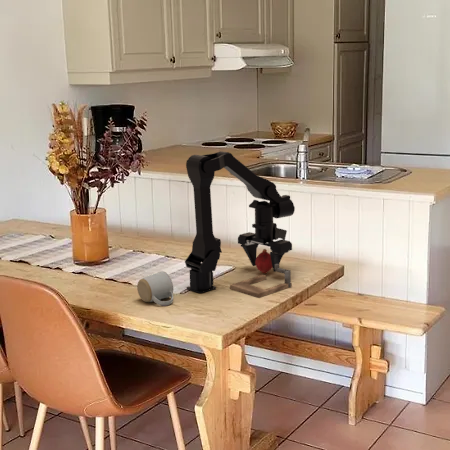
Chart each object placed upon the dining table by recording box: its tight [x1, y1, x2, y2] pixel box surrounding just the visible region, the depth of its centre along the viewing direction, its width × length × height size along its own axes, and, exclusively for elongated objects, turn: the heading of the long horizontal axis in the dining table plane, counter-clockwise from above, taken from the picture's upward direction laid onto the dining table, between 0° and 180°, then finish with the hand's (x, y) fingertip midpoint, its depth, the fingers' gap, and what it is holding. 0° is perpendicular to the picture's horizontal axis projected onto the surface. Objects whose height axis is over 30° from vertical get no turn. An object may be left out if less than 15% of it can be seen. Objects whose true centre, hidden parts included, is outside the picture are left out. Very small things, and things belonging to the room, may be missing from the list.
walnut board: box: [229, 264, 293, 299], centre depth 209 cm, size 14×12×6 cm
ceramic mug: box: [136, 270, 174, 307], centre depth 199 cm, size 11×8×8 cm
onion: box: [255, 248, 273, 275], centre depth 222 cm, size 6×6×8 cm
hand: (264, 268), depth 223 cm, fingers open, 9 cm apart
